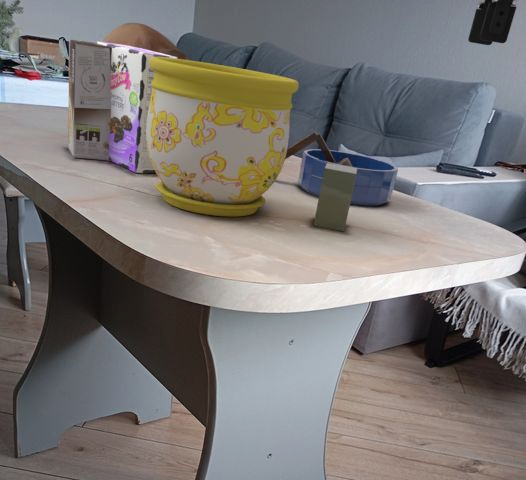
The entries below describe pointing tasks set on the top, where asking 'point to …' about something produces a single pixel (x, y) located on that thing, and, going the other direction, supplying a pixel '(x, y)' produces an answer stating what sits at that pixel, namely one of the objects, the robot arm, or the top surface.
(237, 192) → the flowerpot
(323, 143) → the wooden gallows stand
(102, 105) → the coffee box
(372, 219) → the top surface
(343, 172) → the olive green upright block
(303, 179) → the bowl
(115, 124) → the candy box
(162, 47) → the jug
